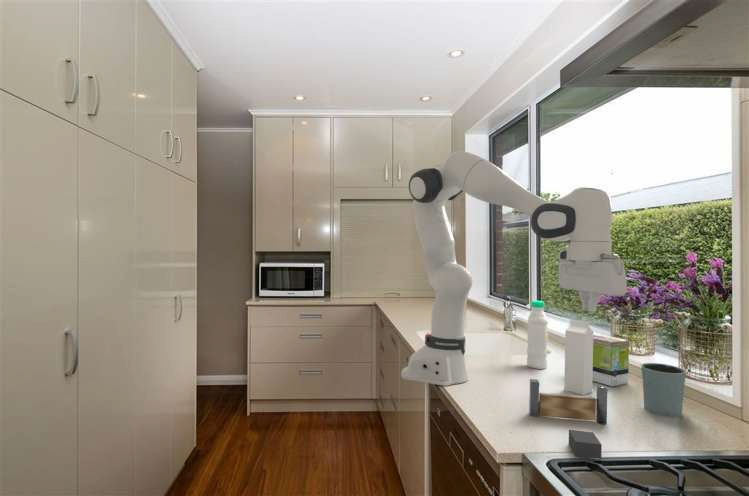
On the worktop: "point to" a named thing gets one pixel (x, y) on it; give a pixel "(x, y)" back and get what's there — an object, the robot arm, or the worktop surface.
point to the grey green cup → (663, 388)
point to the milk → (578, 357)
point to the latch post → (534, 398)
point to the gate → (567, 406)
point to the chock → (584, 444)
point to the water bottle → (537, 336)
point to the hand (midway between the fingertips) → (589, 310)
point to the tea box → (610, 360)
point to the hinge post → (601, 405)
